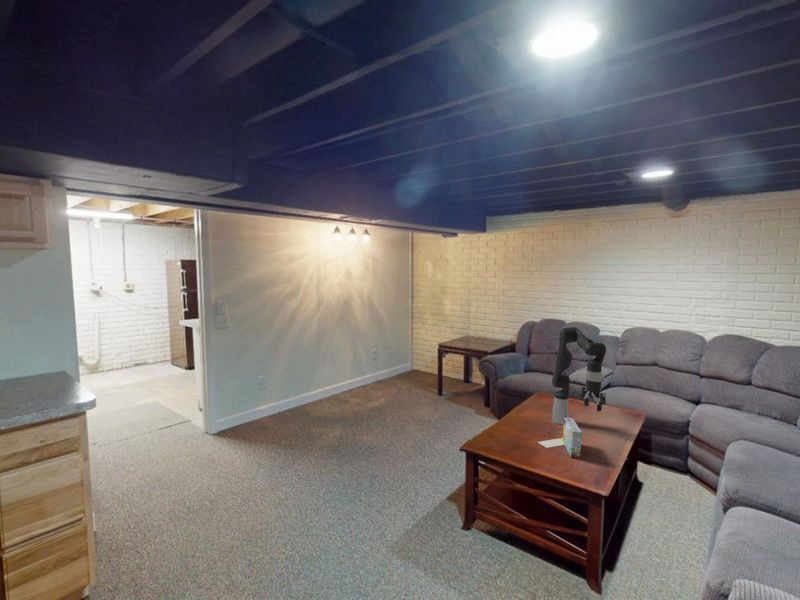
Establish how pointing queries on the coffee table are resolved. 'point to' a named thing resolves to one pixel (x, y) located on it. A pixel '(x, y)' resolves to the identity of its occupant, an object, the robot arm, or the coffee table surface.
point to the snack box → (572, 437)
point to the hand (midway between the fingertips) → (592, 408)
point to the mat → (552, 443)
